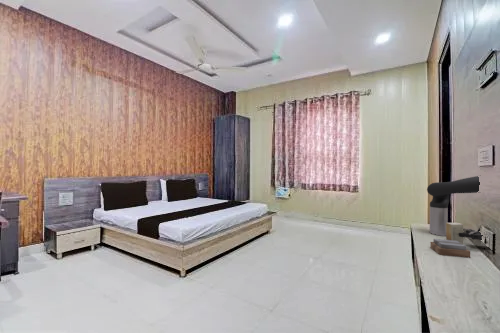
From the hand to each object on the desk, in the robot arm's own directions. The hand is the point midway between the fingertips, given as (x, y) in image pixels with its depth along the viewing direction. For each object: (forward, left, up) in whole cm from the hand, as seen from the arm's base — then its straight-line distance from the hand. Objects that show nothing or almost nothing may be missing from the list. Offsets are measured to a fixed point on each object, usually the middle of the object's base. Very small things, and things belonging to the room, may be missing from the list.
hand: (455, 232), depth 135 cm
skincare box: (0, 0, -7) cm, 7 cm away
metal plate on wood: (+14, -8, -7) cm, 18 cm away
